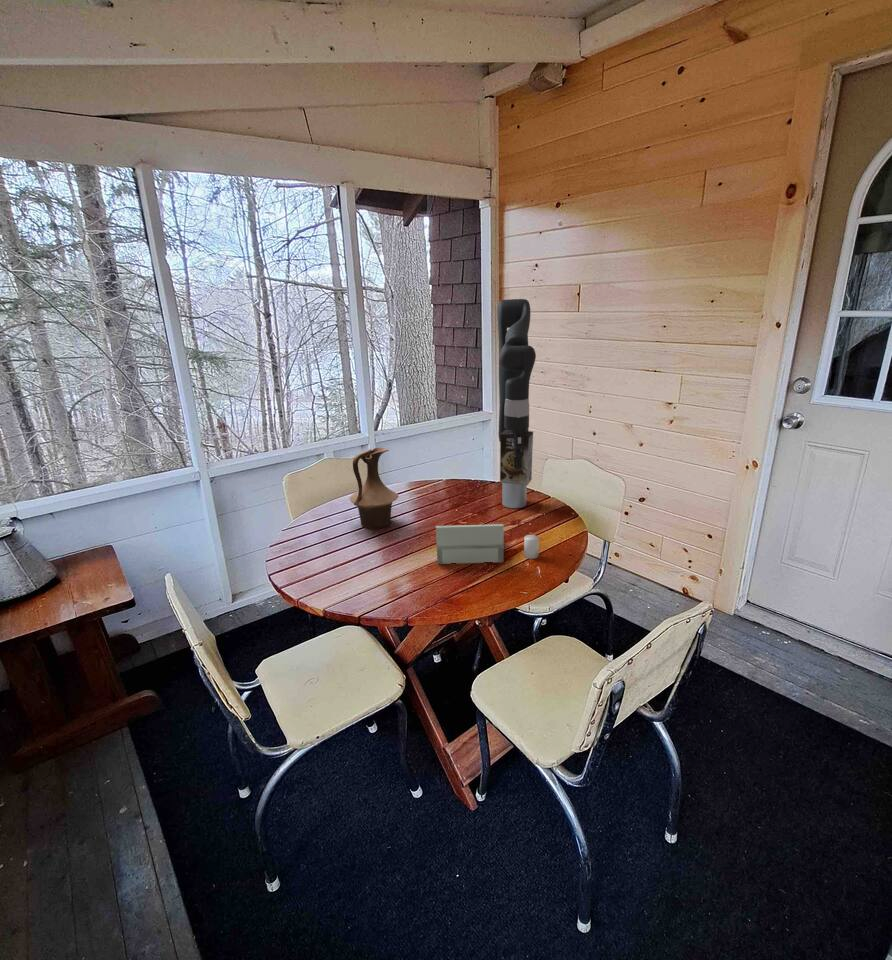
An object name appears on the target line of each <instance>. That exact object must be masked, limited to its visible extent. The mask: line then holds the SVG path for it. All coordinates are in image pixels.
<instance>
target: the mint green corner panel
mask: <svg viewBox="0 0 892 960" xmlns="http://www.w3.org/2000/svg"><path fill="white" fill-rule="evenodd" d="M504 530H505V529H504V523H497V524H496V523H495V524H463V525H462V524H461V525H435V536H436V560H437V561H436V564H437V565H445V564H446V565H448V564H449V565H450V564H451V563H456V564H482V563H483V564H485V563H484V562H493V563H504V556H505V555H504V553H505V552H504V551H505V550H504V546H505V545H504V542H505V541H504V540H505V539H504V538H505V537H504V535H505V533H504V532H505V531H504ZM451 565H452V564H451Z"/></svg>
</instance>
